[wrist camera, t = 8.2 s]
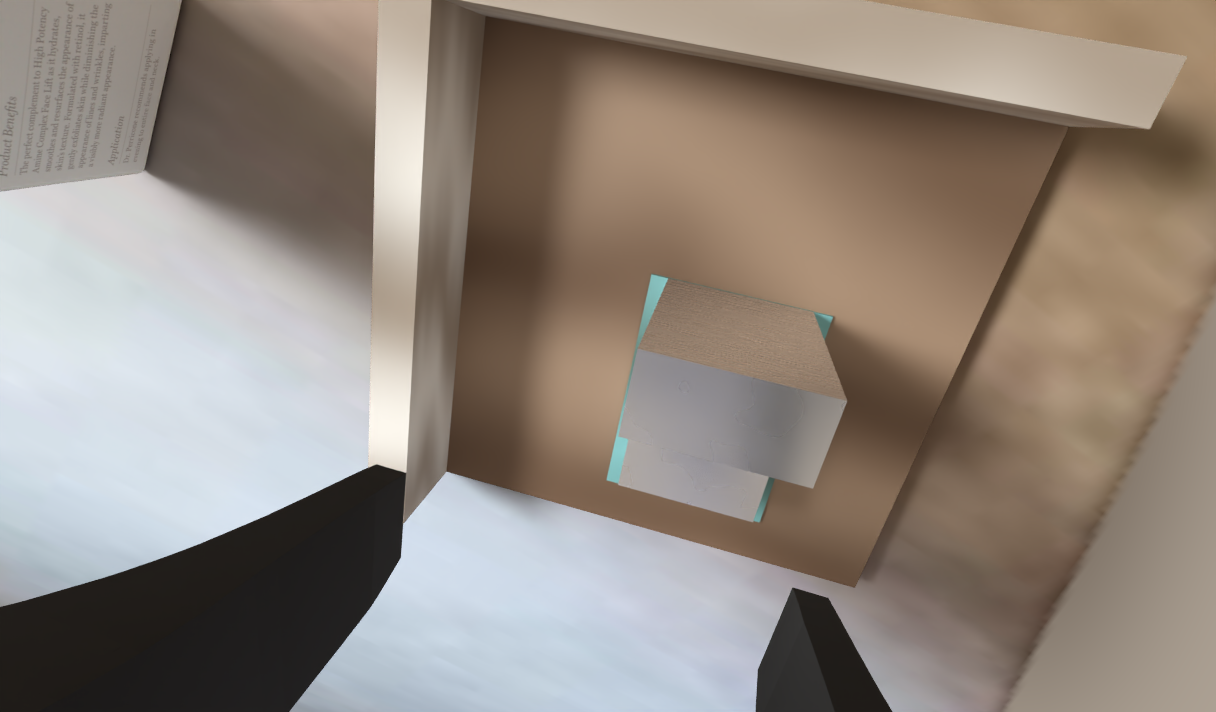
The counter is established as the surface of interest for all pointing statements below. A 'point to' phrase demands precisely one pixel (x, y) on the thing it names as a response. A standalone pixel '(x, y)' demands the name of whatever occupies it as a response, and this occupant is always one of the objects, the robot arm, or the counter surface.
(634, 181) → the corner arena
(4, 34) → the skincare box
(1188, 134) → the counter surface
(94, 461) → the counter surface
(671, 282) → the aluminium bracket
